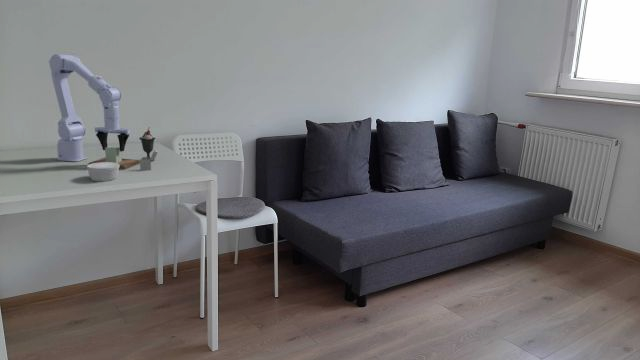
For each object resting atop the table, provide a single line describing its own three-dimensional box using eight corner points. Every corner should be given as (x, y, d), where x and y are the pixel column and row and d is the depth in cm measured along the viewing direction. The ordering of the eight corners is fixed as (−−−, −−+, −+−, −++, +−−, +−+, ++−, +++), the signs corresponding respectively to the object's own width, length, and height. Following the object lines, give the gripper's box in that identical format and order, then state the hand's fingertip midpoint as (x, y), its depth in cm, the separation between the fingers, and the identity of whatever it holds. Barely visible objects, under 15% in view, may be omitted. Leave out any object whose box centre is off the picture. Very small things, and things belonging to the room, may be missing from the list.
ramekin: (86, 176, 191) (85, 162, 190) (117, 174, 196) (116, 160, 195) (89, 183, 182) (88, 169, 180) (122, 180, 187) (121, 166, 186)
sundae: (151, 162, 217) (150, 128, 213) (137, 161, 218) (135, 127, 214) (159, 159, 223) (158, 126, 219) (145, 158, 224) (144, 125, 221)
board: (88, 166, 206) (88, 163, 205) (105, 160, 217) (104, 157, 217) (125, 169, 203) (124, 165, 203) (139, 163, 215) (139, 159, 215)
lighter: (140, 170, 203) (139, 150, 201) (140, 169, 205) (139, 150, 203) (158, 169, 206) (157, 150, 204) (158, 168, 207) (157, 149, 205)
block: (106, 162, 208) (105, 148, 206) (111, 160, 212) (111, 146, 211) (116, 163, 207) (115, 148, 206) (121, 160, 211) (121, 146, 210)
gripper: (89, 117, 203) (91, 150, 206) (123, 120, 201) (124, 153, 204) (99, 115, 209) (101, 147, 213) (132, 118, 207) (133, 150, 211)
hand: (113, 150), depth 209 cm, fingers open, 7 cm apart
